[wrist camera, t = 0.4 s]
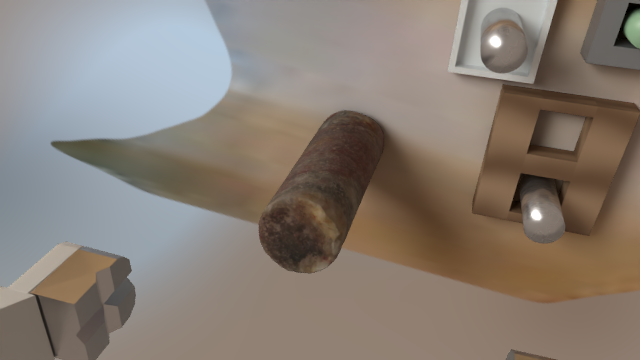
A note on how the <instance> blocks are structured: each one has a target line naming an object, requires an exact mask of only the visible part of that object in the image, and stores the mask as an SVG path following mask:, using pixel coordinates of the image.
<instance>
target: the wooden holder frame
mask: <svg viewBox="0 0 640 360" xmlns="http://www.w3.org/2000/svg"><path fill="white" fill-rule="evenodd" d="M540 110H547V111H553V112H560V113H567V114H573V115H580V116H586V119H585V122H584V125H583V128H582V130H581V133H580V136H579V139H578V141H577V144H576V147H575V150H574V152H573V151H567V150H561V149H555V148H549V147H543V146H537V145H531V144H530V141H531V138H532V134H533V131H534V128H535V124H536V121H537V118H538V115H539V111H540ZM639 115H640V111H639V110H638V108H637V107H636V105H635V104H634V103H629V102H622V101H615V100H608V99H601V98H594V97H587V96H581V95H574V94H567V93H560V92H553V91H546V90H539V89H532V88H525V87H518V86H511V85H504V84H503V85H502V89H501V93H500V97H499V101H498V105H497V109H496V113H495V116H494V120H493V124H492V128H491V132H490V136H489V140H488V144H487V148H486V151H485V155H484V159H483V163H482V167H481V171H480V175H479V179H478V183H477V186H476V190H475V194H474V198H473V205H472V213H473V214H478V215H484V216H489V217H494V218H499V219H504V220H510V221H515V222H520V223H523V218H522V209H521V202H517V201H512V200H513V196H514V193H515V190H516V187H517V183H518V180H519V177H520V174H521V173H524V174H530V175H536V176H541V177H547V178H553V179H558V180H563V183H562V186H561V189H560V192H559V194H558V198H559V202H560V206H561V210H562V215H563V219H564V223H565V231H567V232H572V233H577V234H582V235H587V236H589V235H590V233H591V231H592V228H593V226H594V223H595V221H596V219H597V216H598V214H599V211H600V209H601V207H602V204H603V202H604V199H605V197H606V195H607V192H608V190H609V187H610V185H611V183H612V180H613V178H614V175H615V173H616V171H617V168H618V166H619V163H620V161H621V159H622V156H623V154H624V151H625V149H626V147H627V144H628V142H629V139H630V137H631V135H632V132H633V130H634V127H635V125H636V123H637V120H638V118H639Z"/></svg>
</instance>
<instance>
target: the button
mask: <svg viewBox="0 0 640 360" xmlns="http://www.w3.org/2000/svg"><path fill="white" fill-rule="evenodd" d="M621 30H622V32H623V34H624V35H625V36H626V38H627V39H628V40H629V41H630V42H631V43H632V44H633V45H634V46H635V47H637V48H639V49H640V7H637V8H635V9H633V10H631V11H630V12H628V13H627V14H626V15H625V17H624V18H623V21H622V24H621Z"/></svg>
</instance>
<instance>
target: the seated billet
mask: <svg viewBox="0 0 640 360" xmlns="http://www.w3.org/2000/svg"><path fill="white" fill-rule="evenodd" d="M519 193H520V201H521V209H522V218H523V226H524V232H525V234H526V236H527V237H528V238H529V239H531V240H532V241H534V242H538V243H551V242H554V241H556V240H558V239H559V238H560V237H561V236H562V235H563V234H564V231H565V223H564V219H563V215H562V210H561V206H560V202H559V198H558V194H557V190H556V186H555V181H554V179H553V178H547V177H541V176H536V175H530V174H525V175H524V176H523V177H522V178H521V180H520V182H519Z"/></svg>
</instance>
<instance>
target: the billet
mask: <svg viewBox="0 0 640 360" xmlns="http://www.w3.org/2000/svg"><path fill="white" fill-rule="evenodd" d="M527 54H528V45H527V41H526V37H525V34H524V30H523V26H522V23H521V19H520V17H519V15H518V14H517V13H516V12H515V11H514V10H512V9H509V8H503V7H502V8H497V9H494V10H492V11H490V12H489V13H488V14H487V15H486V16H485V17H484V19H483V21H482V23H481V38H480V55H481V60H482V62H483V64H484V65H485V67H486V68H488V69H489V70H490V71H492V72H495V73H509V72H512V71H514V70H516V69H517V68H519V67H520V66H521V65H522V64H523V63H524V61H525V59H526V57H527Z"/></svg>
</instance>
